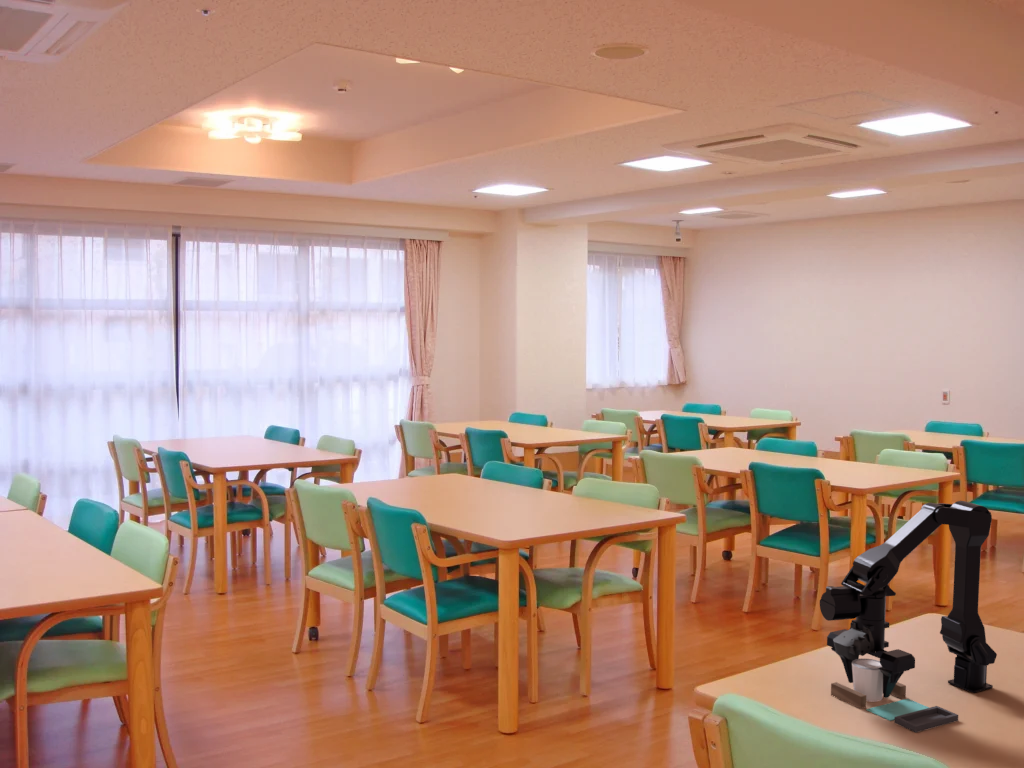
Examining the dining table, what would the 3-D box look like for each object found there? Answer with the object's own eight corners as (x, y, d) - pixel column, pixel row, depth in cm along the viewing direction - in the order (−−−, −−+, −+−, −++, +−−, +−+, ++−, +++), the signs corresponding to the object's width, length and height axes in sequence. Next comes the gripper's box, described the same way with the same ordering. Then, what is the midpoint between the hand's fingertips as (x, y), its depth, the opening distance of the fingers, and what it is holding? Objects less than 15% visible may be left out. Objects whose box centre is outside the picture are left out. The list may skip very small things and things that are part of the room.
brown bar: (875, 684, 211) (875, 673, 210) (905, 697, 204) (905, 685, 203) (830, 695, 205) (831, 683, 204) (860, 708, 198) (861, 696, 197)
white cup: (888, 704, 200) (889, 670, 200) (853, 701, 201) (854, 668, 201) (882, 691, 207) (883, 659, 206) (848, 688, 208) (849, 656, 208)
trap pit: (936, 711, 196) (936, 705, 196) (958, 720, 192) (958, 714, 192) (894, 723, 191) (894, 717, 191) (915, 732, 186) (915, 726, 186)
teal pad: (907, 699, 202) (907, 698, 202) (932, 709, 197) (932, 708, 197) (866, 710, 197) (866, 709, 197) (890, 721, 192) (890, 720, 192)
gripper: (808, 609, 207) (806, 681, 209) (878, 635, 191) (876, 713, 192) (846, 602, 213) (844, 673, 214) (918, 627, 196) (915, 703, 197)
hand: (868, 690), depth 204 cm, fingers open, 9 cm apart
